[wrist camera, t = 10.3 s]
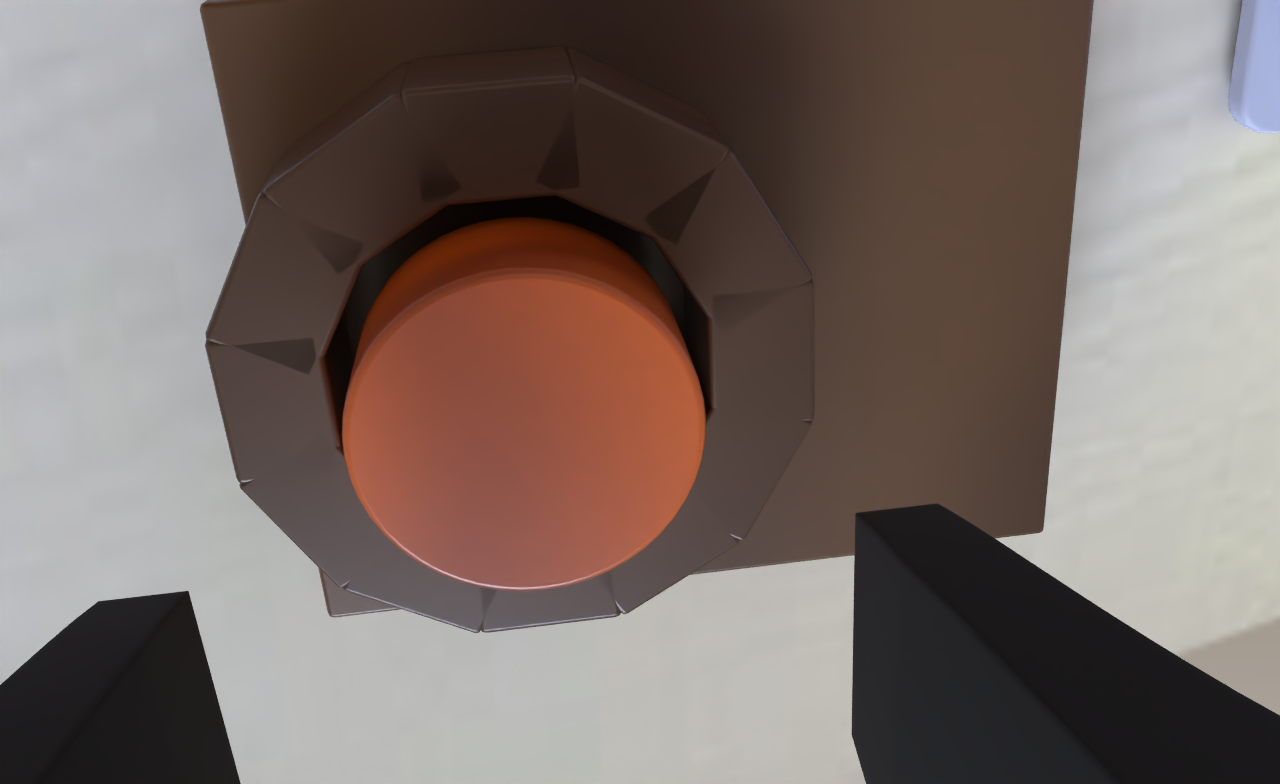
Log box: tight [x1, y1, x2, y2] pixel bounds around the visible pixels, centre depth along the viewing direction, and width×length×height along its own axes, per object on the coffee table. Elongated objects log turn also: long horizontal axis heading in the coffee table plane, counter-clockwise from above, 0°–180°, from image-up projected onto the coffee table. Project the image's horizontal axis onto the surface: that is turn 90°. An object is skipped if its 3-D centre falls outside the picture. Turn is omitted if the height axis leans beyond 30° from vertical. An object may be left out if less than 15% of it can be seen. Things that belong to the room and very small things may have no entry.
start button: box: [342, 217, 706, 591], centre depth 13 cm, size 4×4×2 cm
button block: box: [200, 0, 1094, 633], centre depth 15 cm, size 10×8×4 cm
